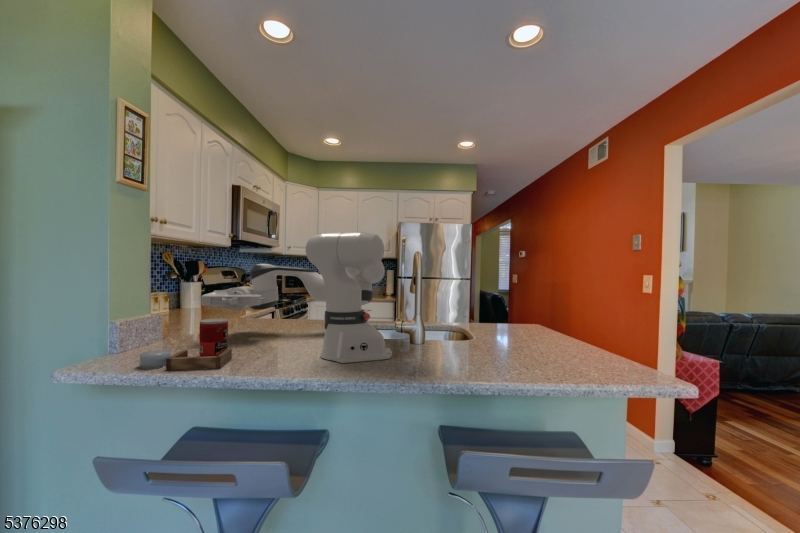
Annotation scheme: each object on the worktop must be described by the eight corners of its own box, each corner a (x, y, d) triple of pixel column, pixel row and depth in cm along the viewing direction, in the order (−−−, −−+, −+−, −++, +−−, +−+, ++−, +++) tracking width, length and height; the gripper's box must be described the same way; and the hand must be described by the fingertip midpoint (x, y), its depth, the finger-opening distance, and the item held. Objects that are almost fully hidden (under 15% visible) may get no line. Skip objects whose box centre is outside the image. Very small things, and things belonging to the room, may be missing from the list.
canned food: (219, 358, 104) (220, 322, 104) (193, 358, 104) (193, 321, 104) (232, 352, 111) (232, 318, 112) (208, 352, 112) (208, 318, 112)
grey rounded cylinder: (174, 361, 100) (174, 349, 100) (162, 368, 93) (162, 355, 93) (148, 362, 99) (148, 350, 99) (133, 369, 92) (133, 356, 92)
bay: (231, 358, 104) (231, 348, 104) (220, 368, 94) (220, 357, 94) (183, 360, 102) (183, 350, 102) (166, 370, 92) (166, 358, 92)
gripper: (265, 306, 135) (257, 310, 122) (209, 306, 132) (194, 311, 118) (266, 290, 135) (257, 292, 122) (209, 290, 132) (194, 292, 118)
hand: (226, 301), depth 120 cm, fingers closed
